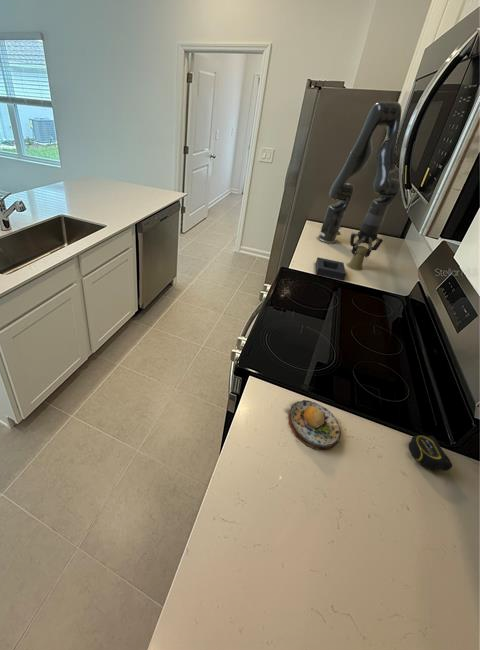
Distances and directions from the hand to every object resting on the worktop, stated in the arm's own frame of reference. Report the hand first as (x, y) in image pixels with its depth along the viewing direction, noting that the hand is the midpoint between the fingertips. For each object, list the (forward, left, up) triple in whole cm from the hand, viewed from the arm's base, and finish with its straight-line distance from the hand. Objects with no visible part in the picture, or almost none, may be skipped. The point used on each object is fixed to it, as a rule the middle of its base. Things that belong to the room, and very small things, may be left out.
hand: (359, 255), depth 150 cm
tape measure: (+98, +3, -7) cm, 98 cm away
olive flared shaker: (0, 0, -7) cm, 7 cm away
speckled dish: (+100, -22, -7) cm, 103 cm away
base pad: (+12, -13, -6) cm, 19 cm away
